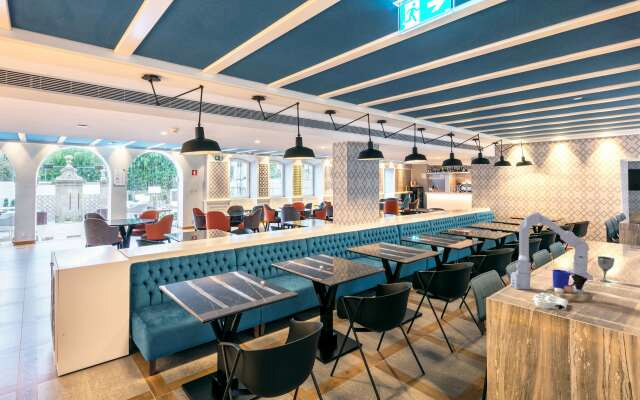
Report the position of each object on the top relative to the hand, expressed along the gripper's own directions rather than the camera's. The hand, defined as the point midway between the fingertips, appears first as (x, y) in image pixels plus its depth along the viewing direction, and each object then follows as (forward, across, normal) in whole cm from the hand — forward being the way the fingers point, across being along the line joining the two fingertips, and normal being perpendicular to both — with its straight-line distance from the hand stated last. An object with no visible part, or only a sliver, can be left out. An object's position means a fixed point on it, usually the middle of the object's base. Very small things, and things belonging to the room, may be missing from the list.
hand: (578, 289), depth 173 cm
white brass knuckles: (+5, -10, +23) cm, 25 cm away
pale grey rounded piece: (+3, 0, +10) cm, 11 cm away
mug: (+5, +16, -4) cm, 17 cm away
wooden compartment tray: (+5, 0, +5) cm, 7 cm away
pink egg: (+2, 0, +5) cm, 6 cm away
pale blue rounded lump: (+3, 0, 0) cm, 3 cm away
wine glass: (+5, +34, -43) cm, 55 cm away
